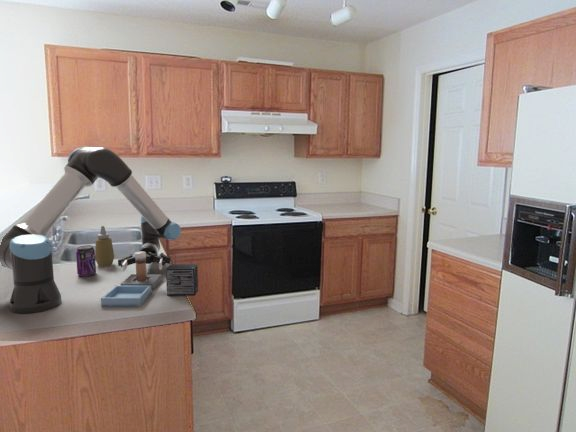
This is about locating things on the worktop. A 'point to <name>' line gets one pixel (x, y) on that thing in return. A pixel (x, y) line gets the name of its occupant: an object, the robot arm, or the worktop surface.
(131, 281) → the holder
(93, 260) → the beverage can
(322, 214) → the worktop surface
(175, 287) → the small box
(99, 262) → the squeeze bottle
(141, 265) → the brown and white cylinder
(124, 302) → the parts tray
